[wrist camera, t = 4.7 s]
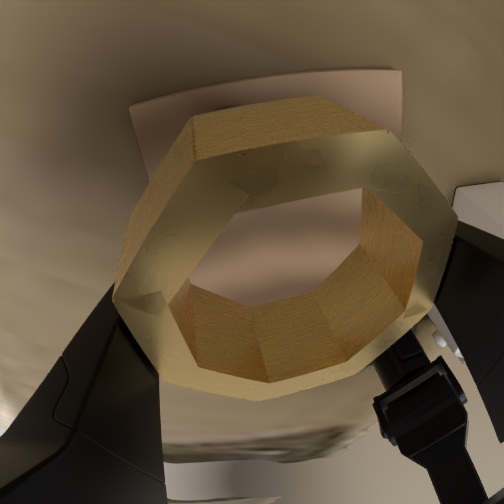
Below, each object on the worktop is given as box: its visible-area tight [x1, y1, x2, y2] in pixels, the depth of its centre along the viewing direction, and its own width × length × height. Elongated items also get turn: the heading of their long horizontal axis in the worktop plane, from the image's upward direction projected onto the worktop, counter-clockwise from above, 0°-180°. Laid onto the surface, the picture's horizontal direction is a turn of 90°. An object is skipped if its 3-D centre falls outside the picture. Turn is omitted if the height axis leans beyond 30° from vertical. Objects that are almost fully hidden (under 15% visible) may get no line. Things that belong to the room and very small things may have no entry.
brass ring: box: [112, 96, 459, 401], centre depth 8 cm, size 7×7×3 cm
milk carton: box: [427, 182, 504, 364], centre depth 26 cm, size 7×7×19 cm
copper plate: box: [128, 68, 402, 307], centre depth 22 cm, size 20×16×1 cm
